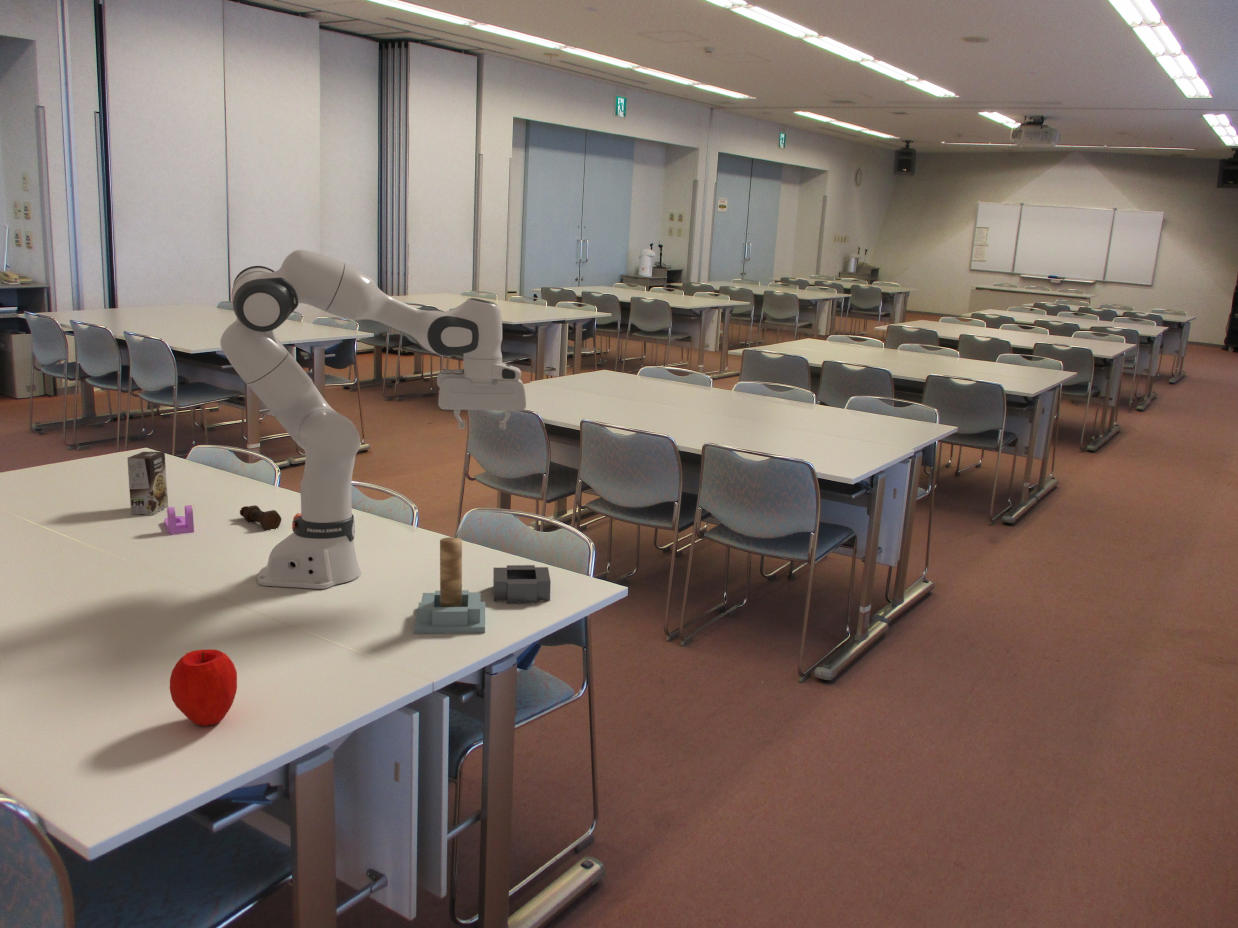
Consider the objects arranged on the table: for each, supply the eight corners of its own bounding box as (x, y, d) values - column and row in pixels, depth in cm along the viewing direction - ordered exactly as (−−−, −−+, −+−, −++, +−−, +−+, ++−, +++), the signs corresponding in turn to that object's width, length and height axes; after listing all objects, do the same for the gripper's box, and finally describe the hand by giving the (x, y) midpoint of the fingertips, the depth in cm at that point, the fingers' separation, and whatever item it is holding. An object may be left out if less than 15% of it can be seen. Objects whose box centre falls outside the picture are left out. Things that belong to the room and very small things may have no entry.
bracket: (194, 532, 246) (192, 506, 245) (170, 535, 243) (169, 509, 242) (185, 520, 257) (183, 495, 255) (163, 522, 254) (161, 497, 252)
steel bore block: (493, 603, 205) (493, 584, 204) (493, 583, 217) (493, 565, 216) (550, 602, 207) (551, 583, 206) (547, 583, 219) (547, 565, 218)
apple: (157, 728, 148) (152, 656, 145) (205, 702, 157) (201, 633, 154) (207, 742, 145) (202, 668, 142) (253, 714, 154) (249, 644, 151)
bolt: (248, 524, 262) (275, 534, 252) (232, 518, 258) (259, 528, 248) (256, 504, 263) (284, 514, 253) (241, 498, 259) (268, 507, 249)
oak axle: (439, 618, 193) (439, 543, 189) (440, 610, 197) (440, 537, 194) (461, 618, 193) (461, 543, 190) (462, 610, 198) (462, 537, 194)
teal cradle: (413, 633, 188) (413, 613, 187) (419, 607, 201) (418, 589, 200) (484, 632, 190) (485, 612, 189) (485, 606, 203) (485, 588, 202)
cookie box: (153, 515, 259) (149, 458, 256) (130, 514, 259) (125, 457, 256) (169, 506, 268) (165, 451, 265) (147, 505, 268) (142, 450, 265)
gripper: (436, 370, 213) (436, 430, 216) (527, 372, 216) (525, 431, 219) (437, 367, 219) (437, 425, 222) (526, 369, 222) (524, 426, 225)
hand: (482, 428), depth 221 cm, fingers open, 8 cm apart
